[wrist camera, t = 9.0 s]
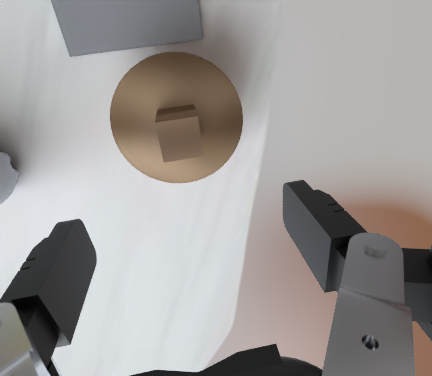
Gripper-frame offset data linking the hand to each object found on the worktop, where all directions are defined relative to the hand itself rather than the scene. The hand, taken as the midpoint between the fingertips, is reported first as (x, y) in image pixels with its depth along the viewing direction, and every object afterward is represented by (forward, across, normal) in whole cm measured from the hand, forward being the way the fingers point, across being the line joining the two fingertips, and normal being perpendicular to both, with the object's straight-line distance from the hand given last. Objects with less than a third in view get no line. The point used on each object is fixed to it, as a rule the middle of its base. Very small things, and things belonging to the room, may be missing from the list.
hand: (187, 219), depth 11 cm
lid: (+15, 0, 0) cm, 15 cm away
